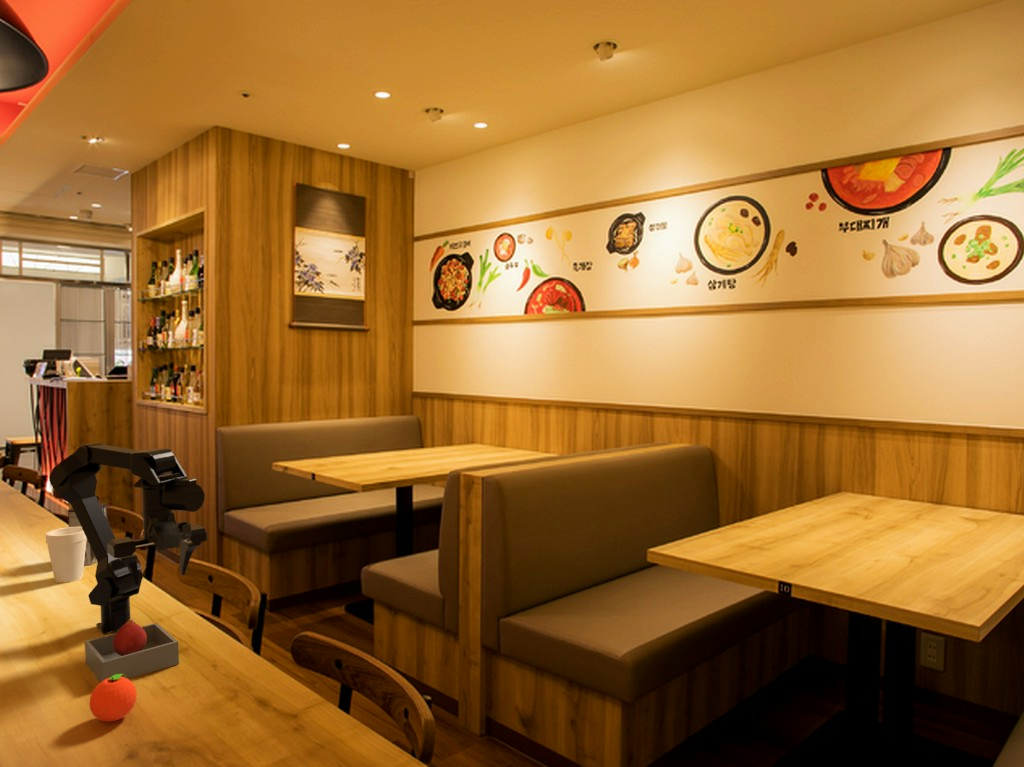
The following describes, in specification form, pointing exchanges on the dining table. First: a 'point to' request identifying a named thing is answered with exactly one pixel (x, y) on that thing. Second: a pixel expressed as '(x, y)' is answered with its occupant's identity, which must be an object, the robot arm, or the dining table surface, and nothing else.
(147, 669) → the bin
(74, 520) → the coffee box
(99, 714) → the clementine
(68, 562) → the foam cup
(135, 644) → the onion
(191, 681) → the dining table surface
